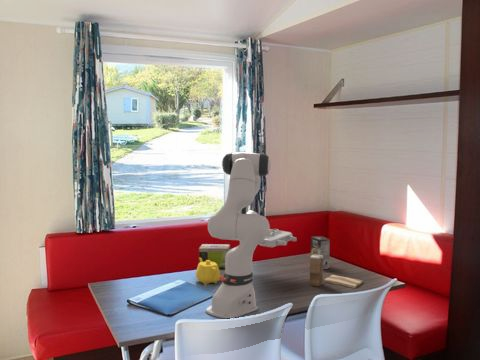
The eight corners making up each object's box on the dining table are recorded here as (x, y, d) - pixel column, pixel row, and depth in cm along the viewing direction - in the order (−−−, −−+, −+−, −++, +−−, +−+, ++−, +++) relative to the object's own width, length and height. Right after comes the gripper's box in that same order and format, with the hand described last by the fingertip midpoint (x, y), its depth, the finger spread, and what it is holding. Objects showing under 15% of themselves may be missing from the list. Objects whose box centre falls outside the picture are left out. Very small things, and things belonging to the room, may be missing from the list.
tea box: (230, 271, 249) (230, 243, 247) (228, 277, 239) (228, 248, 237) (202, 270, 250) (202, 243, 249) (198, 276, 240) (198, 247, 239)
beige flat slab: (354, 287, 222) (354, 285, 222) (323, 281, 232) (323, 279, 232) (362, 282, 230) (362, 280, 230) (332, 276, 240) (332, 274, 240)
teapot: (189, 278, 237) (189, 257, 236) (209, 275, 242) (209, 254, 241) (205, 288, 221) (205, 266, 220) (226, 285, 227) (226, 263, 226)
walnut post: (318, 286, 224) (318, 257, 223) (309, 284, 227) (310, 256, 225) (322, 284, 228) (323, 255, 226) (314, 282, 231) (314, 254, 229)
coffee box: (310, 265, 260) (310, 236, 258) (319, 264, 262) (320, 235, 261) (319, 270, 251) (320, 240, 250) (329, 268, 254) (330, 238, 253)
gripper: (256, 235, 233) (280, 239, 225) (277, 228, 249) (301, 231, 241) (256, 247, 234) (280, 252, 226) (277, 240, 250) (300, 243, 242)
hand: (291, 241), depth 234 cm, fingers open, 8 cm apart
